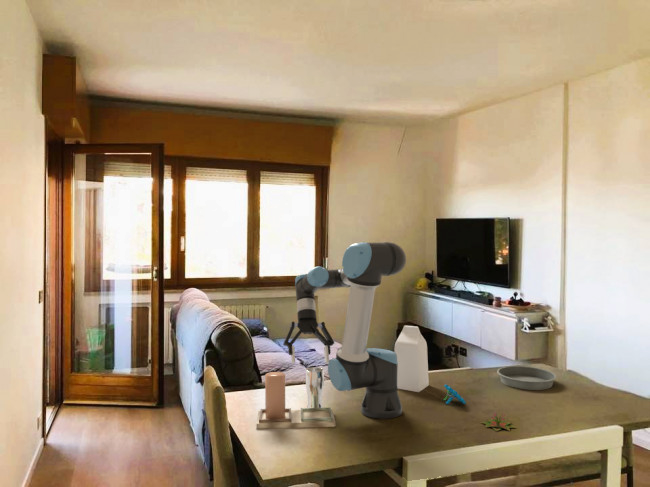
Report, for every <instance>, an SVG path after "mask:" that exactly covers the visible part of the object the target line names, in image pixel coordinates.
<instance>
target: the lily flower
mask: <svg viewBox="0 0 650 487" xmlns="http://www.w3.org/2000/svg"><path fill="white" fill-rule="evenodd" d="M493 416H494V417H493ZM493 416H491V418H492V419H487V421H481V422H480V421H479V423H481V424H483V425H485V428H489V427H491V428H492V429H493V430H494V431H495V432H497V431H501V430H503V429H504V430H507V431H511V430H510V428H511V429H513V428H514V429H515V428H516V429H518V426H517V427H516V426H514V425H512V424H511V422H509V421H506V420H505V418H504V417H505V416H506V415H505V414H504V413H502V414H501V416H499V417H498V415H497V414H496V413H493ZM500 426H501V427H500Z"/></svg>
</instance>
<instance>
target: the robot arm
mask: <svg viewBox="0 0 650 487" xmlns="http://www.w3.org/2000/svg"><path fill="white" fill-rule="evenodd" d="M341 262H342V263H341V266H342V268H339V269H338V268H337V269H326V268H325V267H323V266H315V267H313V268H312V269H310V270H309V271H308V273H301V274H300V275H297V276H296V277H295V280H294V281H295V283H294V287H295V298H296V310H297V313H296V314H297V315H296V316H297V322H295V321H292V322H291V323H290V324H289V325H290V326H289V328H290V329H289V330H288V333H287V335H286V337H285V340H284V341H283V346H286V347H287V349H288V355H289V356H291V357H290V358H291V364H292V365H294V364H295V363H296V354H295V353H296V352H295V345H294V343H295V342H296V341H297V339H299V337H300V335H301V334H303V335H307V334H308V335H312V334H313V335H314V336H316V338H317V339H318V340H319V341H320V342H321V343H322V344H323V345H324V347H323V349H324V350H323V352H324V361H325V364H327V374H328V377H329V379H330V383H331V385H332V386H333V387H334V388H335V389H336V390H337V391H339V392H345V391H347V392H351V391H352V390H359V389H364V388H365V393H364V396H363V399H362V402H361V406H360V412H361V414H362V415H364V416H366V417H369V418H371V419H394V418H397V417H400V416H401V415H402V414H403V405H402V402H401V400H400V396H399V392H398V388H397V365H398V362H397V355H396V353H395V352H394V351H392V350H388V349H383V348H375V347H368V348H367V344H368V339H369V333H370V332H369V331H370V325H371V320H372V315H373V314H372V313H373V306H374V300H375V293H376V289H377V288H379V286H381V285H382V284H381V283H382V278H383V277H390V276H395V275H397V274H399V273H401V272H402V271H403V270H404V269H405V267H406V263H407V256H406V252H405V251H404V250H403V248H402V247H401V246H400V245H398V244H396V243H394V242H389V241H388V242H387V241H386V242H380V241H379V242H365V241H363V242H355V243H352V244H350V245H349V246H348V247H347V248H346V249H345V251H344V253H343V257H342V261H341ZM337 288H349V294H348V301H347V307H346V308H347V309H346V315H345V316H346V317H345V322H344V328H343V334H342V335H343V337H342V343H341V346H340V347H339V348H337V350H336V352H335V353H336V355H335V357H333V358H331V359H330V355H331V347H332V346H333V345H334V344H335V341H334V339H333V338H332V336H331V334H330V332H329V331H328V329H327V327H326V323H325V322H324V321H322V322H319V323H318V320H317V311H316V300H315V293H317V291H318V290H321V289H337ZM296 328H298V330H299V331H298V332H297V333H296V334H295V336H294V337H292V340H291V336H292V334H293V331H294V330H295V329H296ZM318 328H319V329H320V330H321V332H320V330H319V329H318Z"/></svg>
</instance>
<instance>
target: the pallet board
mask: <svg viewBox="0 0 650 487" xmlns="http://www.w3.org/2000/svg"><path fill="white" fill-rule="evenodd" d="M333 410H334V409H333V408H331V407H323V408H307V407H301V408H300V409H292V407H291V408H288V407H287V408H286V407H285V418H284V419H266V417H265V408H261V409H260V410H259V411H258V413H257V420H256V429H283V428H284V429H287V428H289V429H291V428H292V429H295V428H326V427H327V428H330V427H332V428H333V427H336V418H335V414H334V411H333Z"/></svg>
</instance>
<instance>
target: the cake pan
mask: <svg viewBox="0 0 650 487" xmlns="http://www.w3.org/2000/svg"><path fill="white" fill-rule="evenodd" d="M496 373H497V374H498V375H499V377H500V382H501V383H502V384H504V385H506V386H508V387H512V388H515V389H520V390H531V391H540V390H548V389H550V388H552V387H553V384H554V381H555V380H556V379H557V377H558V376H557V375H556V374H555V373H554V372H552V371H550V370H547V369H543V368H539V367H534V366H533V367H532V366H523V365H521V366H520V365H510V366H503V367H500V368H497V371H496Z"/></svg>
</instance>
